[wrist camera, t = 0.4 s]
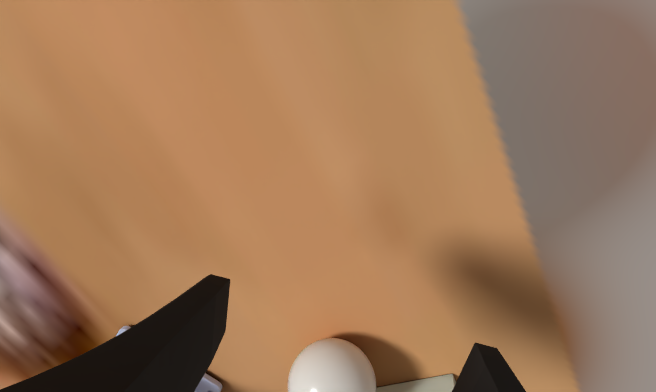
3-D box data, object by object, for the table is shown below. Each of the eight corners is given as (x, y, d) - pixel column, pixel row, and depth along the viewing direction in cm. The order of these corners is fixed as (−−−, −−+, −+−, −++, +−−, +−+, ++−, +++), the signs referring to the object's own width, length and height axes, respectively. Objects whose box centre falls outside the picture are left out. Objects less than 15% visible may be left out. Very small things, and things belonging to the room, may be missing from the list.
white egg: (347, 391, 26) (335, 469, 22) (284, 351, 26) (259, 422, 21) (395, 350, 24) (393, 428, 20) (328, 305, 24) (311, 374, 19)
